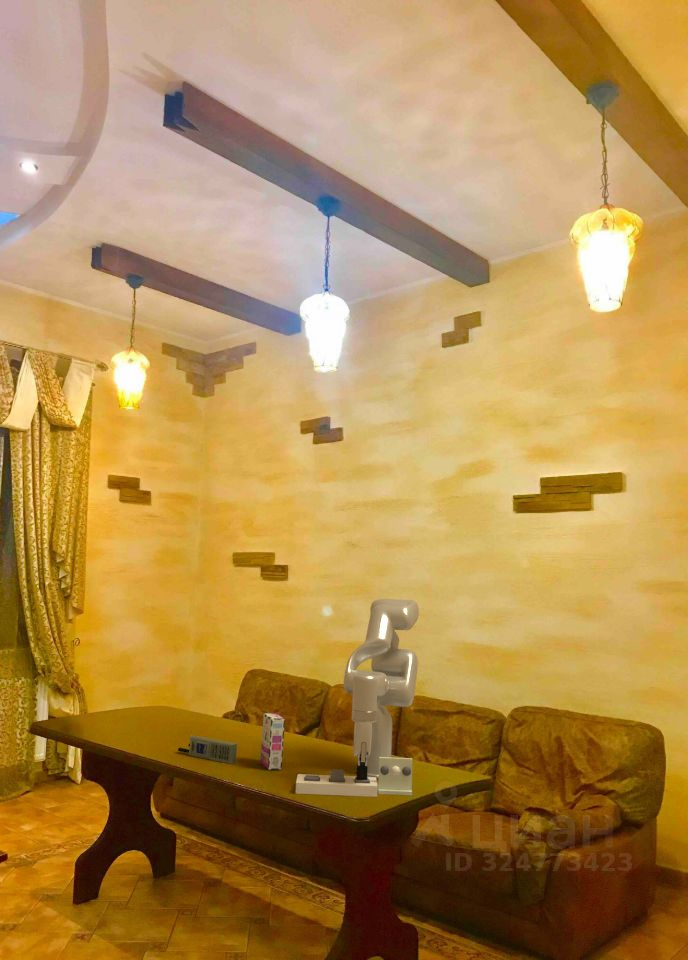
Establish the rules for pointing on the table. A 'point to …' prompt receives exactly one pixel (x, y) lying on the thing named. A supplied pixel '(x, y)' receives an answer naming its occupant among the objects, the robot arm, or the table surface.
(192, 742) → the handheld radio
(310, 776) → the left button
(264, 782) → the table surface
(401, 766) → the pattern placard
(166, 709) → the table surface
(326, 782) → the button board
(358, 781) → the right button
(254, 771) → the table surface
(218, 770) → the table surface
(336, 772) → the middle button
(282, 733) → the candy bar box
